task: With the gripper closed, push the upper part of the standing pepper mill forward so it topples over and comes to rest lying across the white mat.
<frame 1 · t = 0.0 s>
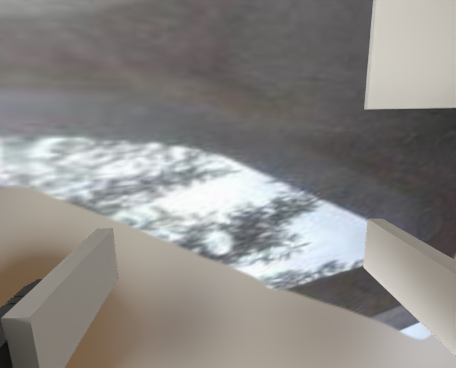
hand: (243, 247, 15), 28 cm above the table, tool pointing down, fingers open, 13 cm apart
white mat: (425, 41, 40), on the table
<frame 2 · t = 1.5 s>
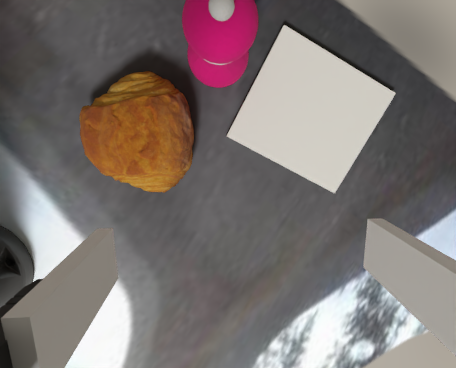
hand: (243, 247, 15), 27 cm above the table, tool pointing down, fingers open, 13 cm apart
pepper mill: (217, 63, 38), on the table
croissant: (143, 133, 40), on the table
white mat: (309, 114, 40), on the table
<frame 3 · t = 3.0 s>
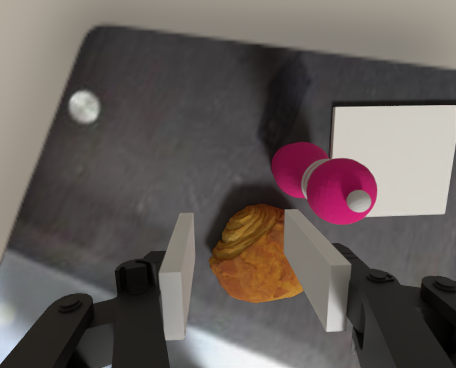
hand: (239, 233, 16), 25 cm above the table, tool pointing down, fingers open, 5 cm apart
pepper mill: (292, 164, 41), on the table
croissant: (258, 249, 44), on the table
white mat: (389, 162, 42), on the table
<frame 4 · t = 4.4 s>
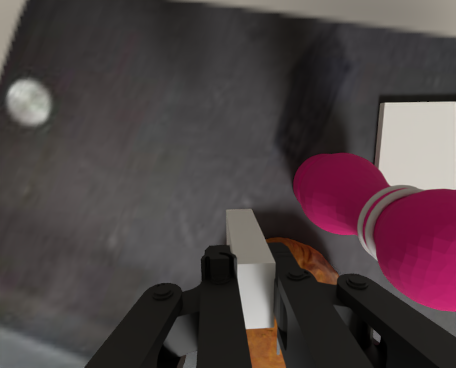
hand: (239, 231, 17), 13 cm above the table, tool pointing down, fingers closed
pepper mill: (321, 182, 30), on the table
croissant: (274, 295, 33), on the table
white mat: (454, 179, 31), on the table
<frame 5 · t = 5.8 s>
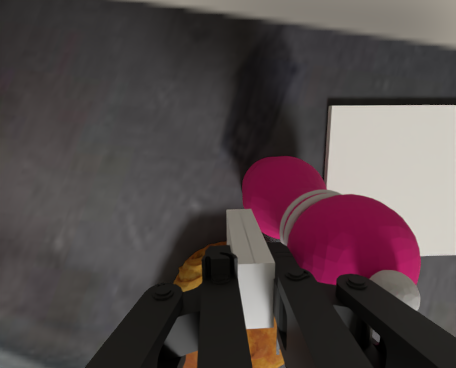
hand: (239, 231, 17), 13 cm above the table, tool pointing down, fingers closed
pepper mill: (271, 186, 30), on the table, touching gripper
croissant: (227, 299, 32), on the table
white mat: (406, 183, 30), on the table
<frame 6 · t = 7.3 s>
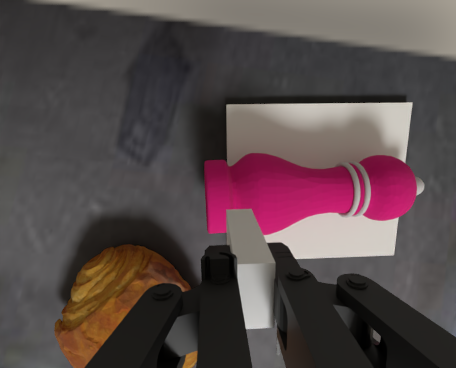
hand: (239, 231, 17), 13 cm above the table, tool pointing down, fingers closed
pepper mill: (203, 196, 24), point 5 cm above the table, touching white mat
croissant: (138, 303, 32), on the table
white mat: (313, 183, 30), on the table
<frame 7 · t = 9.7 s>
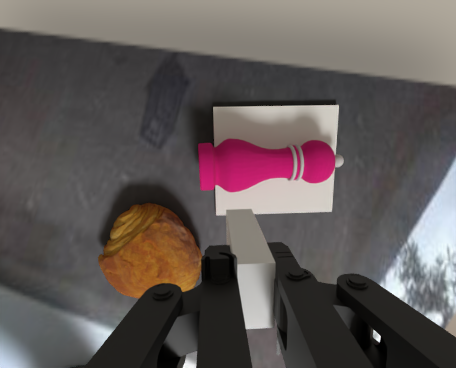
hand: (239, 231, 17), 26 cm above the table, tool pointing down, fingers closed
pepper mill: (197, 167, 38), point 5 cm above the table, touching white mat
croissant: (153, 247, 45), on the table
white mat: (274, 161, 43), on the table
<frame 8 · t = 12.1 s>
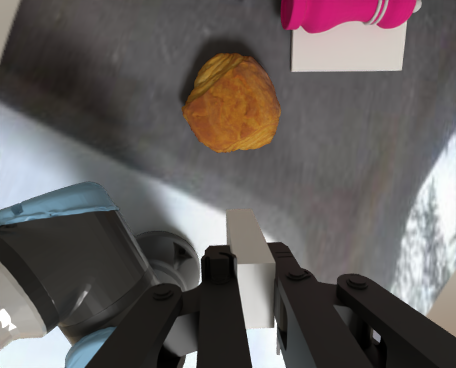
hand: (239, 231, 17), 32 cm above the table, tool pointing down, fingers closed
pepper mill: (285, 4, 40), point 5 cm above the table, touching white mat
croissant: (229, 108, 47), on the table
white mat: (348, 17, 45), on the table
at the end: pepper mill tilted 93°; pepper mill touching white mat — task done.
